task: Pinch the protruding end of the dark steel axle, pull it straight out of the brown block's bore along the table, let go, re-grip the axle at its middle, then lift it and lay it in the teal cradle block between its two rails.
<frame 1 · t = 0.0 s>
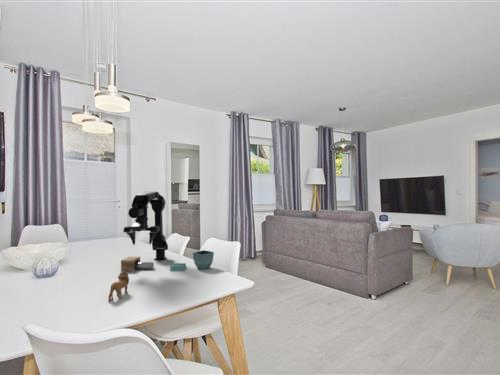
hand: (142, 244, 160), 15 cm above the table, tool pointing down, fingers open, 9 cm apart
lion figurine: (118, 296, 122), on the table
cradle: (178, 268, 163), on the table
flower pot: (203, 268, 165), on the table
brown block: (130, 268, 165), on the table
axle: (140, 269, 164), on the table
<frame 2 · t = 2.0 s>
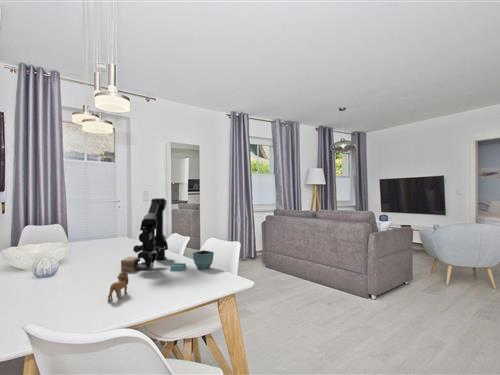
hand: (149, 267, 164), 1 cm above the table, tool pointing down, fingers closed on axle, 4 cm apart
axle: (140, 269, 164), on the table, touching gripper
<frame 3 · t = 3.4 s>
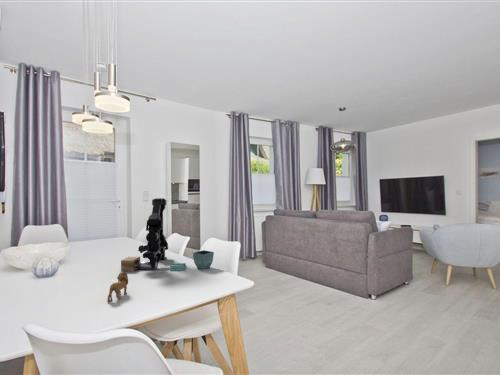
hand: (154, 267, 164), 1 cm above the table, tool pointing down, fingers closed on axle, 4 cm apart
axle: (144, 268, 164), on the table, touching gripper
when the fingers open (1 cm above the table, at t = 4.8 s): axle stays where it is, on the table.
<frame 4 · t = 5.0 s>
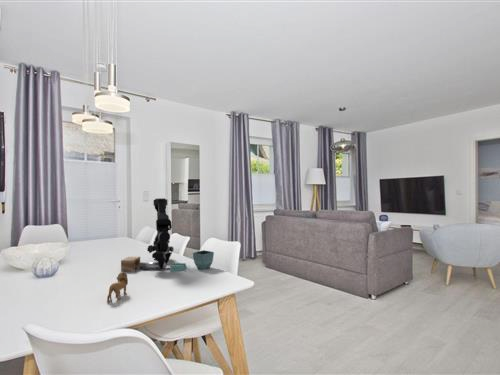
hand: (163, 267, 164), 1 cm above the table, tool pointing down, fingers open, 6 cm apart
axle: (152, 269, 164), on the table
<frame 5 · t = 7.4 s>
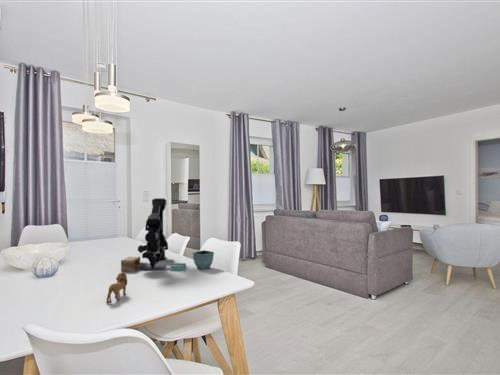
hand: (154, 267, 164), 1 cm above the table, tool pointing down, fingers closed on axle, 4 cm apart
axle: (152, 269, 164), on the table, tilted 8°, touching gripper
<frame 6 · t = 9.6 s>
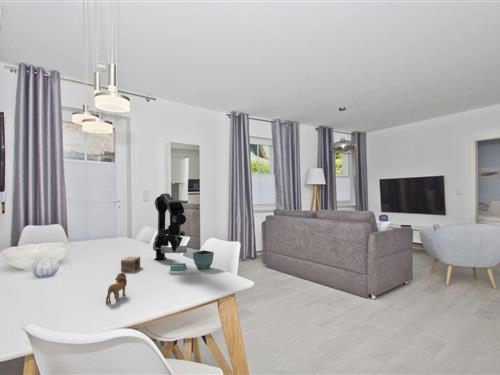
hand: (175, 250, 163), 10 cm above the table, tool pointing down, fingers closed on axle, 4 cm apart
axle: (173, 253, 163), point 9 cm above the table, tilted 10°, touching gripper
when the fingers open (4 cm above the table, at t = 11.1 s): axle stays where it is, resting on cradle.
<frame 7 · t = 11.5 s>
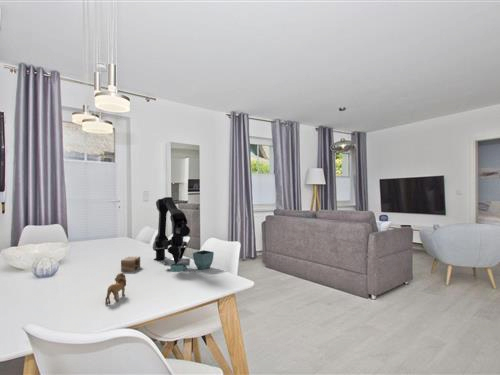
hand: (178, 261, 163), 4 cm above the table, tool pointing down, fingers open, 8 cm apart
axle: (177, 265, 163), point 2 cm above the table, tilted 6°, touching cradle
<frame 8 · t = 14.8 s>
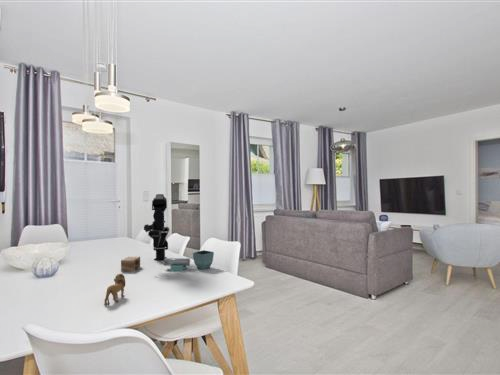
hand: (159, 245, 170), 12 cm above the table, tool pointing down, fingers open, 9 cm apart
at the end: axle inside the target area on the cradle (0.7 cm from its centre), point 1.9 cm above the cradle's base; axle inside the target area (1.3 cm from its centre), point 1.9 cm above the table; the gripper is holding nothing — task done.
